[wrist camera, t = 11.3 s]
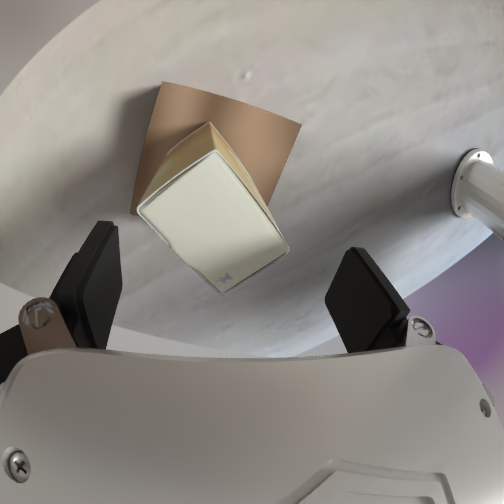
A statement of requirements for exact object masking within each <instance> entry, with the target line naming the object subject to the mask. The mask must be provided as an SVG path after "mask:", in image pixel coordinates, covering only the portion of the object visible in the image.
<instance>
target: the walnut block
mask: <svg viewBox="0 0 504 504" xmlns="http://www.w3.org/2000/svg"><path fill="white" fill-rule="evenodd" d="M207 122H211V123H212V125H213V126H214V127H215V128H216V130H217V131H218V132H219V133H220V135H221V136H222V137H223V138H224V140H225V141H226V142H227V143H228V145H229V146H230V147H231V149H232V150H233V151H234V153H235V154H236V156H237V157H238V158H239V160H240V161H241V163H242V164H243V166H244V167H245V169H246V170H247V172H248V173H249V175H250V177H251V178H252V180H253V182H254V184H255V186H256V188H257V189H258V191H259V193H260V195H261V197H262V199H263V200H264V202H265V204H266V206H268V204H269V201H270V199H271V196H272V194H273V192H274V189H275V187H276V185H277V182H278V180H279V178H280V175H281V173H282V171H283V168H284V166H285V163H286V161H287V159H288V156H289V154H290V152H291V149H292V147H293V145H294V142H295V140H296V138H297V135H298V133H299V131H300V128H301V126H302V125H301V124H299V123H296V122H294V121H292V120H289V119H287V118H284V117H282V116H279V115H276V114H274V113H271V112H268V111H266V110H263V109H260V108H257V107H254V106H252V105H249V104H246V103H243V102H239V101H236V100H233V99H230V98H227V97H223V96H220V95H216V94H213V93H209V92H206V91H202V90H198V89H194V88H190V87H186V86H182V85H177V84H173V83H168V82H163V81H162V84H161V87H160V90H159V93H158V96H157V100H156V103H155V106H154V109H153V113H152V116H151V120H150V123H149V127H148V131H147V134H146V138H145V142H144V146H143V151H142V155H141V159H140V164H139V168H138V173H137V178H136V183H135V188H134V194H133V199H132V205H131V211H130V214H133V215H138V216H140V215H139V214H138V213H137V206H138V204H139V202H140V201H141V199H142V197H143V195H144V193H145V191H146V189H147V188H148V186H149V184H150V182H151V181H152V179H153V177H154V175H155V174H156V172H157V170H158V168H159V167H160V165H161V163H162V162H163V160H164V158H165V157H166V155H167V153H168V152H169V150H170V149H171V148H173V147H174V146H175V145H176V144H178V143H179V142H180V141H181V140H183V139H184V138H185V137H187V136H188V135H190V134H191V133H192V132H194V131H195V130H197V129H198V128H200V127H201V126H203V125H204V124H206V123H207Z"/></svg>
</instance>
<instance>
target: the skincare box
mask: <svg viewBox="0 0 504 504" xmlns="http://www.w3.org/2000/svg"><path fill="white" fill-rule="evenodd" d="M137 213H138V214H139V215H140V216H141V217H142V218H143V219H144V220H145V222H146V223H147V224H148V225H149V226H150V227H151V228H152V229H153V230H154V231H155V232H156V233H157V234H158V235H159V236H160V237H161V238H162V239H163V240H164V241H165V242H166V243H167V244H168V245H169V246H170V247H171V248H172V250H173V251H174V252H175V253H176V254H177V255H178V256H179V257H180V258H181V259H182V260H183V261H184V262H186V263H187V264H188V265H189V266H190V267H191V268H192V269H193V270H194V271H195V272H196V273H197V274H199V275H200V276H201V277H202V278H203V279H204V280H205V281H206V282H207V283H208V284H209V285H210V286H211V287H212V288H214V289H215V290H216V291H217V292H218V293H219V294H220V295H223V294H225V293H227V292H228V291H230V290H231V289H233V288H234V287H236V286H238V285H240V284H241V283H243V282H245V281H246V280H248V279H249V278H251V277H252V276H254V275H256V274H257V273H259V272H261V271H262V270H264V269H265V268H267V267H268V266H270V265H271V264H273V263H274V262H276V261H277V260H279V259H280V258H281V257H283V256H284V255H286V254H288V253H289V252H290V248H289V246H288V244H287V242H286V241H285V239H284V237H283V235H282V234H281V232H280V230H279V228H278V226H277V224H276V223H275V221H274V219H273V217H272V215H271V213H270V211H269V210H268V208H267V206H266V204H265V202H264V200H263V199H262V197H261V195H260V193H259V191H258V189H257V188H256V186H255V184H254V182H253V180H252V178H251V177H250V175H249V173H248V172H247V170H246V169H245V167H244V166H243V164H242V163H241V161H240V160H239V158H238V157H237V156H236V154H235V153H234V151H233V150H232V149H231V147H230V146H229V145H228V143H227V142H226V141H225V140H224V138H223V137H222V136H221V135H220V133H219V132H218V131H217V130H216V128H215V127H214V126H213V125H212V123H211V122H207V123H206V124H204V125H203V126H201V127H200V128H198V129H197V130H195V131H194V132H192V133H191V134H190V135H188V136H187V137H185V138H184V139H183V140H181V141H180V142H179V143H178V144H176V145H175V146H174V147H173V148H171V149H170V150H169V152H168V153H167V155H166V157H165V158H164V160H163V162H162V163H161V165H160V167H159V168H158V170H157V172H156V174H155V175H154V177H153V179H152V181H151V182H150V184H149V186H148V188H147V189H146V191H145V193H144V195H143V197H142V199H141V201H140V202H139V204H138V206H137Z"/></svg>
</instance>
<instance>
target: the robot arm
mask: <svg viewBox="0 0 504 504" xmlns="http://www.w3.org/2000/svg"><path fill="white" fill-rule="evenodd" d="M451 202H452V207H453V210H454V212H455V213H456V214H457V215H458V216H459V217H461V218H463V219H470V218H472V217H475V218H476V219H478V220H479V221H480V222H482V223H483V224H484V225H485V226H487V227H488V228H489V229H490V230H491V231H493V232H494V233H495V234H496V235H497V236H499V237H500V238H501V239H502V240H503V241H504V171H502V170H501V169H499V168H497V167H495V166H494V164H493V161H492V158H491V156H490V155H489V154H488V153H487V152H486V151H484V150H481V149H474V150H472V151H470V152H469V153H468V154H467V155H466V156H465V157H464V158H463V160H462V161H461V163H460V165H459V167H458V168H457V171H456V174H455V176H454V180H453V184H452V191H451ZM121 291H122V274H121V264H120V251H119V235H118V226H114V224H113V222H111V221H98V222H97V223H96V225H95V226H94V228H93V229H92V231H91V233H90V234H89V236H88V237H87V239H86V240H85V242H84V244H83V245H82V247H81V248H80V250H79V252H78V253H75V254H74V255H73V256H72V258H71V260H70V261H69V263H68V265H67V266H66V268H65V270H64V272H63V274H62V275H61V277H60V279H59V281H58V283H57V284H56V286H55V288H54V290H53V292H52V294H51V296H50V298H45V297H39V298H35V299H32V300H30V301H29V302H27V303H26V304H25V305H24V306H23V307H22V309H21V310H20V313H19V317H18V318H19V324H18V325H16V326H14V327H12V328H11V329H9V330H7V331H5V332H3V333H1V334H0V504H504V431H503V428H502V426H501V423H500V421H499V419H498V416H497V414H496V412H495V410H494V408H493V407H494V398H493V396H492V393H491V392H490V391H489V390H488V389H487V388H486V387H485V386H484V385H483V384H482V383H481V382H480V380H479V378H478V376H477V375H476V373H475V371H474V370H473V368H472V367H471V365H470V364H469V362H468V361H467V359H466V358H465V357H464V356H463V354H461V353H460V352H459V351H457V350H455V349H453V348H451V347H447V346H444V345H442V344H440V343H438V342H437V341H436V340H435V339H436V338H435V336H436V335H435V331H434V328H433V327H432V326H431V324H430V323H429V322H428V321H427V320H426V319H424V318H422V317H420V316H416V315H414V316H411V317H410V318H409V319H408V320H407V318H406V316H407V315H408V313H409V312H410V309H409V308H408V306H407V305H406V303H405V302H404V301H403V299H402V298H401V296H400V295H399V294H398V292H397V291H396V289H395V288H394V287H393V285H392V284H391V283H390V281H389V280H388V279H387V277H386V276H385V275H384V273H383V272H382V271H381V269H380V268H379V267H378V265H377V264H376V263H375V262H374V260H373V259H372V258H371V256H370V255H369V254H368V253H367V251H366V250H365V249H364V248H357V247H351V248H350V249H349V250H347V251H346V253H345V255H344V257H343V259H342V261H341V264H340V266H339V268H338V270H337V273H336V275H335V277H334V279H333V281H332V283H331V285H330V287H329V290H328V292H327V294H326V296H325V304H326V306H327V308H328V310H329V312H330V315H331V317H332V319H333V321H334V323H335V325H336V328H337V330H338V332H339V334H340V336H341V338H342V341H343V343H344V345H345V347H346V350H347V352H348V353H346V354H335V355H322V356H307V357H287V358H201V357H181V356H169V355H155V354H143V353H132V352H124V351H115V350H106V346H107V342H108V338H109V334H110V329H111V326H112V322H113V319H114V315H115V311H116V308H117V304H118V301H119V298H120V294H121Z"/></svg>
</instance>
